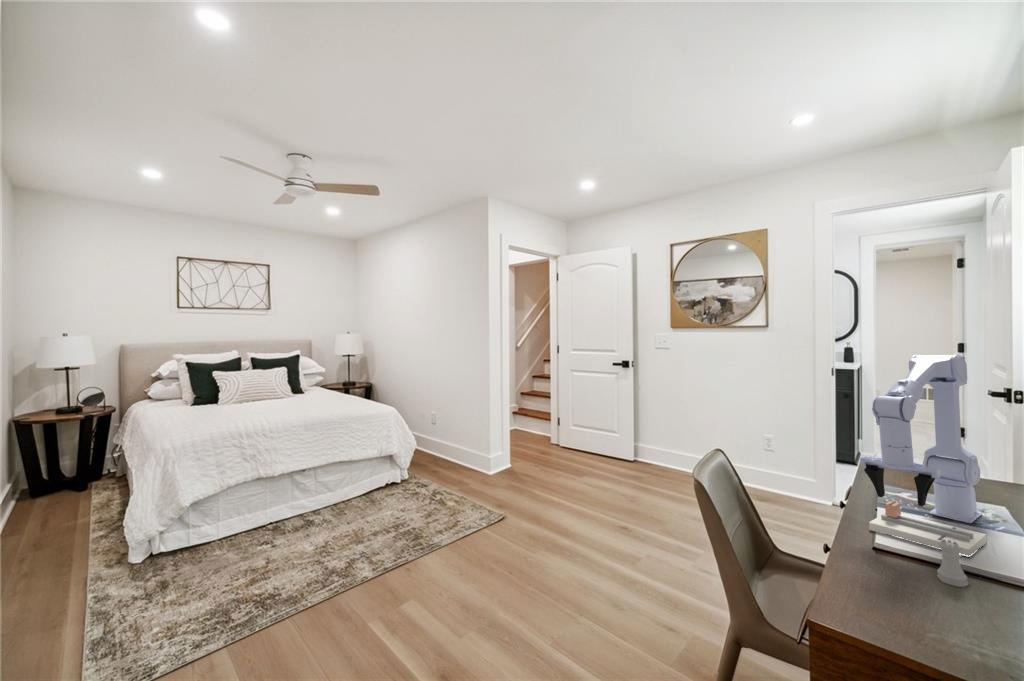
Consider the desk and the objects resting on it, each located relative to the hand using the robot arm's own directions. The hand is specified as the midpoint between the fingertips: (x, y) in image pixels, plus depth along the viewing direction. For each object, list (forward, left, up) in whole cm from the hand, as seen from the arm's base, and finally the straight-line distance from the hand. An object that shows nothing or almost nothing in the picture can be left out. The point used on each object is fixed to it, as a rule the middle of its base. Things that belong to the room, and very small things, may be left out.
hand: (900, 500), depth 102 cm
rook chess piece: (+13, +12, -10) cm, 21 cm away
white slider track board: (-7, +2, -10) cm, 12 cm away
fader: (-7, -4, -7) cm, 11 cm away
